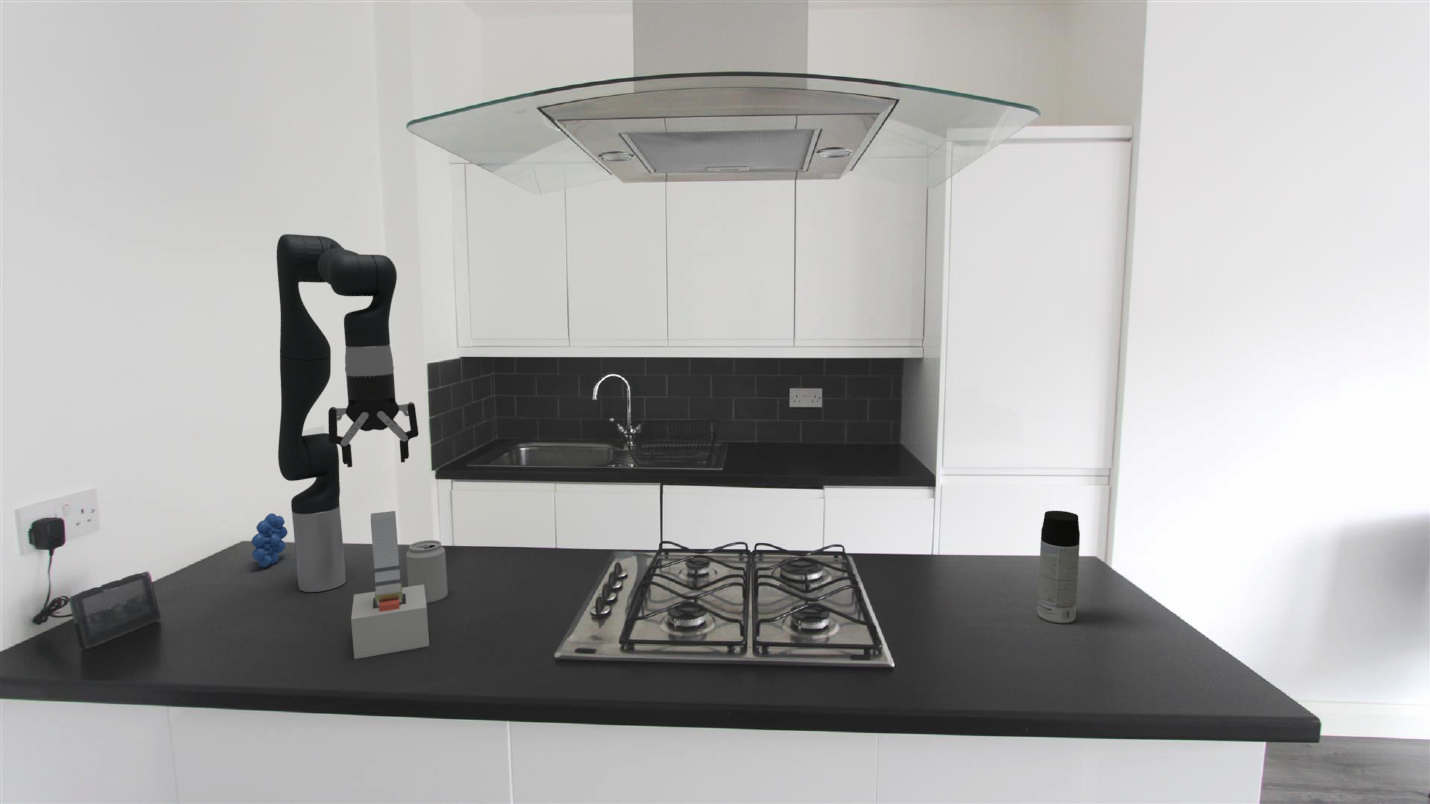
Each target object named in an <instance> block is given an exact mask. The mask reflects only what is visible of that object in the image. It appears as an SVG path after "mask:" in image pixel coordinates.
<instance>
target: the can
mask: <svg viewBox="0 0 1430 804" xmlns="http://www.w3.org/2000/svg"><path fill="white" fill-rule="evenodd" d="M405 556H406V559H405V560H406V561H405V562H406V571H407V572H406V573H407V574H406V575H407V584H408V585H407V587H410V586H417V585H424V590H425V598H426V604H428V603H433V602H438V601H439V600H442V599H444V598H446V597H448V592H449V591H448V589H449V588H448V575H447V561H446V548H444V547H443V546H442V542H441V541H440V540H435V539H434V540H433V539H428V540H422V541H421V540H419V541H416V542H414V543H411V544H410V545H409V546H408V550H407V552H406V554H405Z"/></svg>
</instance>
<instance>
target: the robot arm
mask: <svg viewBox="0 0 1430 804" xmlns="http://www.w3.org/2000/svg"><path fill="white" fill-rule="evenodd" d="M276 270H277V282H278V293H279V307H280V310H279V311H280V332H279V333H280V337H279V338H280V339H279V374H280V376H279V377H280V396H281V397H280V399H281V400H280V401H281V402H280V404H281V405H280V406H281V407H280V410H281V411H280V421H279V422H280V423H279V433H278V434H279V435H278V445H277V446H278V447H277V459H278V467H279V471H280V474H281V476H282V478H284V479H285V480H286V481H289V482H295V481H302V480H303V481H304V480H310V479H315V480H314V481H313V483H312V484H311V485H310V486H309V487H308V488H305V489H304V490H303V491H301V492H299V493H298V494H296V495H295V496H293V497H292V499H291V501H290V502H291V503H290V506H291V508H290V509H291V515H292V517H291V519H292V528H293V539H294V549H295V560H296V572H297V574H296V575H297V582H298V584H297V585H298V590H300V591H302V592H305V593H317V592H324V591H325V592H326V591H330V590H333V589H336V588H339V587H341V586H343V585H344V584H345V583H346V582H347V581H346V579H347V578H346V576H347V575H346V567H345V566H346V565H345V552H344V541H343V529H342V528H343V527H342V519H341V517H342V516H341V505H340V495H341V486H340V485H341V483H340V454H339V453H340V452H339V447H338V445H339V446H340V447H341V456H342V463H343V464H344V465H347V466H346V467H347V468H352V467H353V454H352V444H351V443H350V442H351V441H352V440H353V438H354V437H355V436H356V435H357V433H358V432H359V430H361V431H364V432H370V431H373V430H374V431H384V430H385V429H387V428H388V429H389V430H390V431H391V432H392V433H394V434H395V436H397V438H399V453H400V463H406V460H407V459H409V457H410V451H409V448H410V447H409V441H410V440H411V439H413V438H417V437H418V436H419V434H420V433H419V426H418V418H417V411H416V404H415V403H414V402H412V401H410V402H408V403H404V404H398V403H397V400H396V386H395V375H394V369H395V367H394V359H393V352H392V350H391V349H392V348H391V339H390V338H391V337H390V314H391V306H392V302H393V297H394V294H395V289H396V286H397V281H398V280H397V279H398V276H397V275H398V272H397V268H396V266H395V264H394V262H393V261H392V259H391V258H389V257H388V256H387V255H384V254H366V253H365V254H363V253H362V254H360V253H358V252H355V251H353V250H350V249H345V248H344V247H343V246H342V245H341V244H340V243H339V242H337V241H336V240H335V239H333V238H331V237H328V236H323V235H305V234H294V233H293V234H291V233H290V234H289V233H284V234H282V235H280V237H279V238H278V241H277V245H276ZM300 283H323V284H324V283H326V284H328V285H330V287H331V289H332V291H333V292H334V293H335V294H336V295H338V296H343V297H372V299H371V302H370V303H369V305H368V306H367V307H366V308H362V309H359V310H358V309H357V310H354V311H353V310H352V311H350V312H348V313H346V314H345V315H344V317H343V328H344V329H343V330H344V342H345V355H344V364H345V367H344V371H345V378H346V389H347V390H346V391H347V405H346V407H334V406H331V407H330V408H329V409H328V411H327V412H328V414H327V415H328V416H327V417H328V419H327V420H328V433H326V432H322V433H313V434H306V435H305V434H304V435H303V432H304V427H305V422H306V419H307V418H308V415H309V414H310V411H311V409H312V408H313V407H314V405H315V404H316V402H317V401H318V399H319V398H320V397H321V395H322V394H323V392H324V391H325V389H326V388H327V385H328V383H329V382H330V378H331V372H332V371H331V368H332V367H331V365H332V363H331V362H332V358H331V357H332V356H331V355H332V353H331V352H332V350H331V345H330V343H329V341H328V339H327V337H326V336H325V334H324V332H323V331H322V330H321V328H320V327H319V326H318V324H317V323H316V322H315V320H314V319H313V318H312V316H311V315H310V313H309V312H308V311H309V310H308V309H307V308H306V306H305V304H304V302H303V299H302V297H301V293H300ZM399 412H403V415H404V416H405V417H408V421H409V422H408V423H409V427H410V429H409V430H408V431H405V430H404V429H403V428H402V427H401V426H400V425H399V424H398V423H397V422H396V421H395V418H396V416H397V415H398V414H399ZM344 415H346V416H347V417H348V418H349V419H350V420H351V422H352V424H351V426H350V427H349V428H348V430H347V431H346V432H345V434H344V435H343V436H341V435H338V421H341V420H342V419H343V418H342V417H344Z"/></svg>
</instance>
